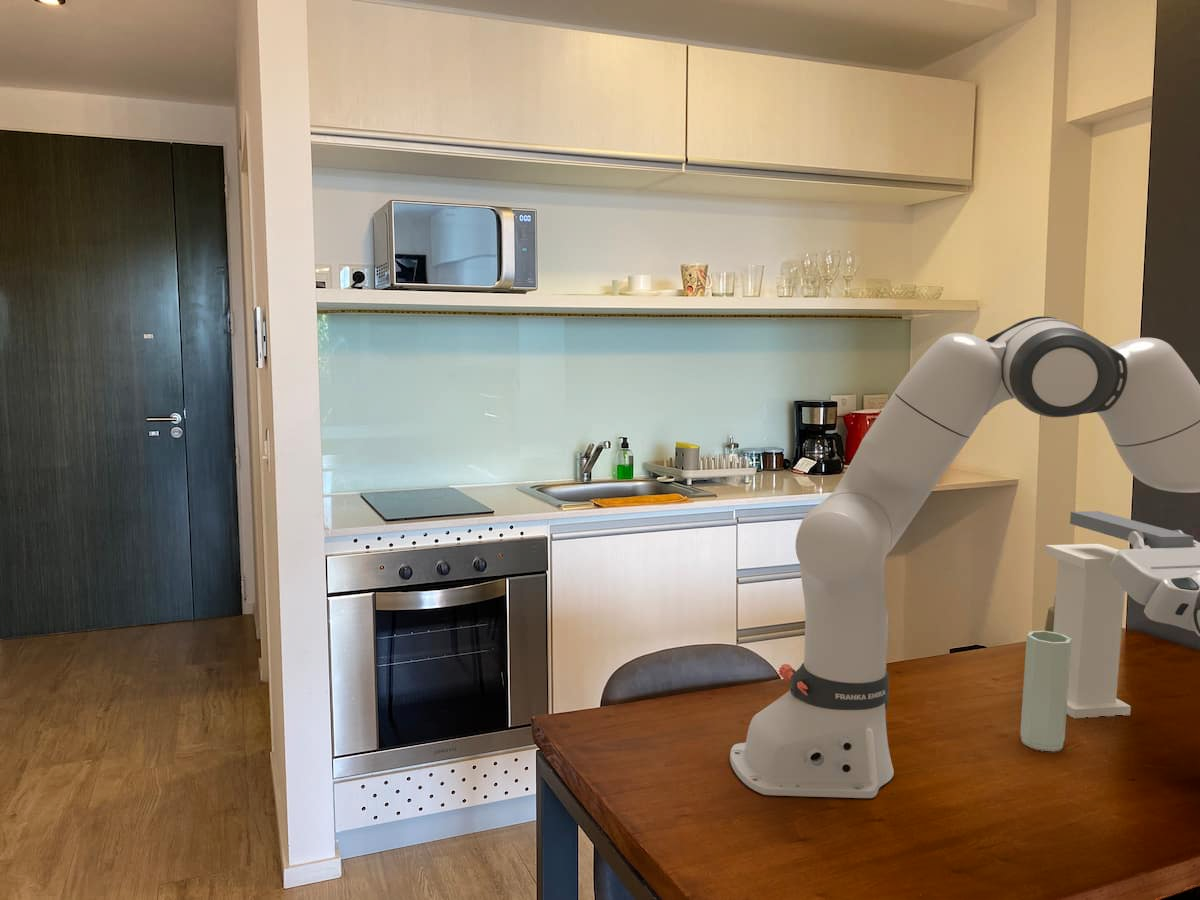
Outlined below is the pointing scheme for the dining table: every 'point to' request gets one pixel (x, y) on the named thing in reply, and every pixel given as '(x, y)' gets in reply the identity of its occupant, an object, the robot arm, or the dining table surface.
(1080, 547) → the stand
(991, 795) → the dining table surface
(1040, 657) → the jar
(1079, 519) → the cover
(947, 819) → the dining table surface
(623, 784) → the dining table surface
